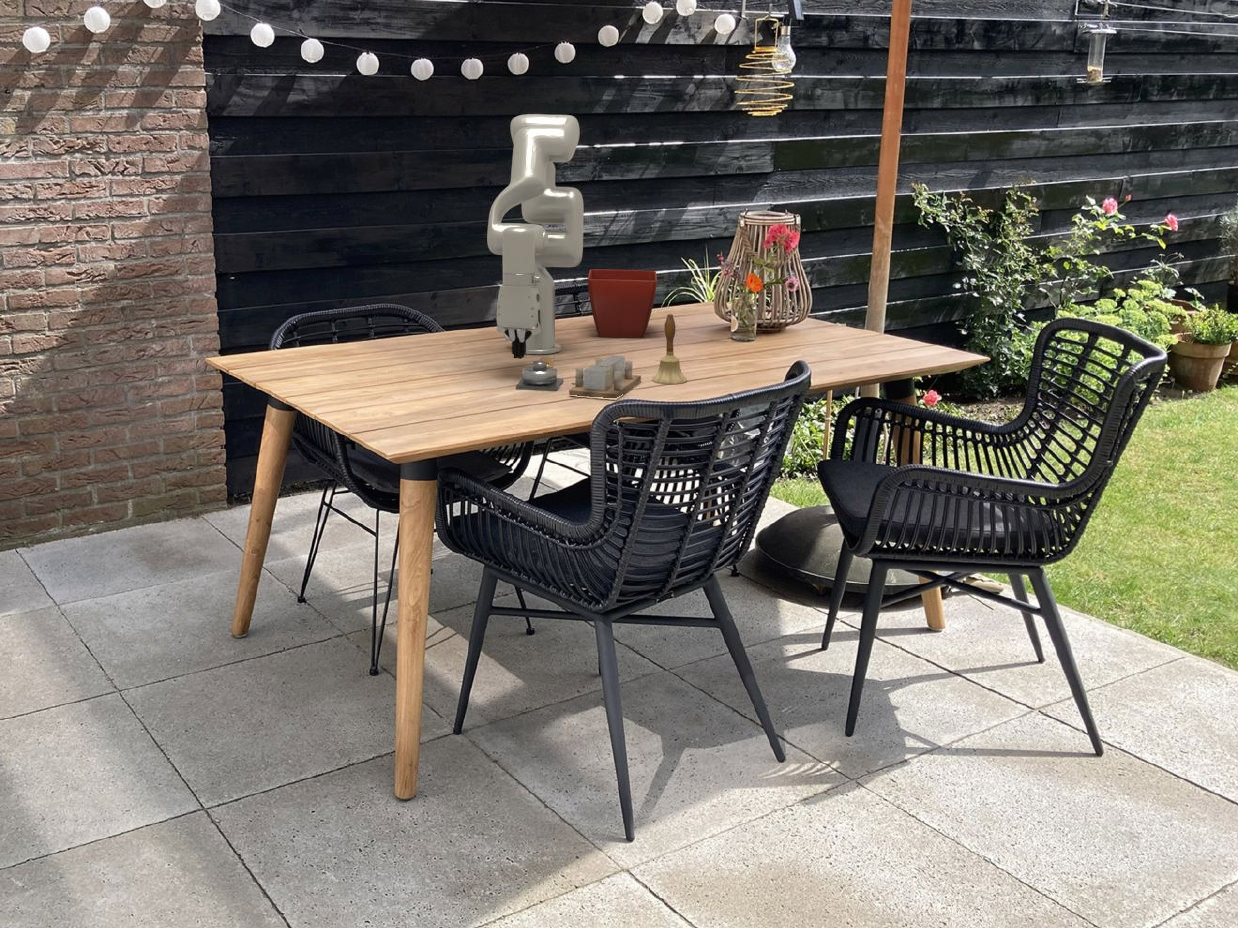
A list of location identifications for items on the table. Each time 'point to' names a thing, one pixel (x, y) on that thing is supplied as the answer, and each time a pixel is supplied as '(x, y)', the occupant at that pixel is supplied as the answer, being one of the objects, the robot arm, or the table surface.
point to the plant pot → (621, 301)
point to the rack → (619, 387)
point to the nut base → (540, 385)
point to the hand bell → (669, 359)
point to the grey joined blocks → (603, 373)
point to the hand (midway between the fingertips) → (518, 357)
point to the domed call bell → (541, 372)
